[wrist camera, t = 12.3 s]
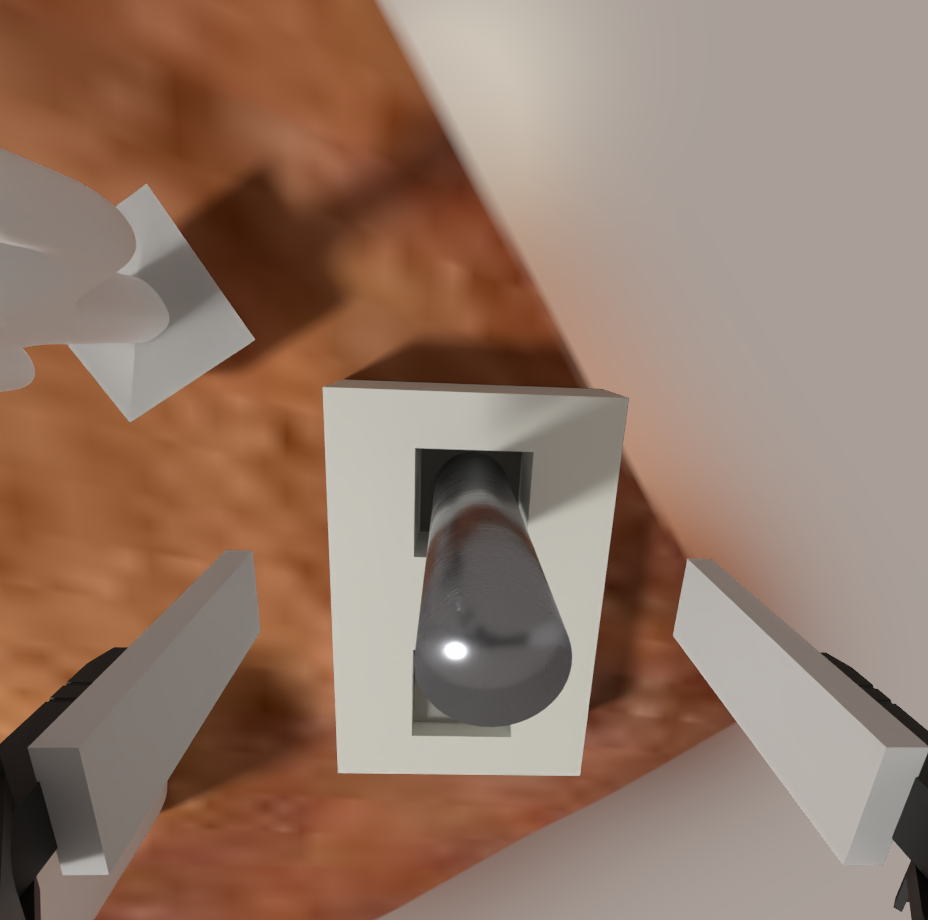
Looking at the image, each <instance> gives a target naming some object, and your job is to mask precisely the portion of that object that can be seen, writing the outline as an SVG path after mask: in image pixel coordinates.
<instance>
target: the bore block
mask: <svg viewBox="0 0 928 920" xmlns="http://www.w3.org/2000/svg"><path fill="white" fill-rule="evenodd" d="M628 401H629V398H627V397H624V396H621V395H618V394H615V393H612V392H609V391H606V390H603V389H587V388H560V387H533V386H506V385H479V384H452V383H425V382H398V381H371V380H344V379H343V380H341V381H338V382H335V383H332V384H330V385H327V386H324V387H323V408H324V434H325V459H326V484H327V509H328V535H329V560H330V585H331V610H332V635H333V661H334V686H335V711H336V736H337V761H338V773H381V774H468V775H554V776H580V771H581V763H582V755H583V748H584V740H585V732H586V724H587V717H588V709H589V701H590V694H591V686H592V678H593V671H594V663H595V655H596V647H597V640H598V632H599V624H600V617H601V609H602V601H603V594H604V586H605V578H606V570H607V563H608V555H609V547H610V540H611V532H612V524H613V517H614V509H615V501H616V493H617V486H618V478H619V470H620V463H621V455H622V447H623V440H624V431H625V424H626V416H627V408H628ZM467 452H476V453H482V454H485V455H487V456H489V457H491V458H493V459H494V460H495V461H496V462H498V463H499V465H500V466H501V467H502V469H503V470H504V472H505V474H506V477H507V479H508V482H509V485H510V487H511V490H512V492H513V495H514V497H515V500H516V503H517V505H518V508H519V510H520V513H521V515H522V518H523V521H524V523H525V526H526V528H527V531H528V534H529V536H530V539H531V541H532V544H533V546H534V549H535V552H536V554H537V557H538V559H539V562H540V565H541V567H542V570H543V572H544V575H545V577H546V580H547V583H548V585H549V588H550V590H551V593H552V595H553V598H554V601H555V603H556V606H557V608H558V611H559V614H560V616H561V619H562V621H563V624H564V626H565V629H566V632H567V634H568V637H569V640H570V644H571V649H572V665H571V671H570V674H569V677H568V680H567V682H566V684H565V686H564V688H563V690H562V691H561V693H560V694H559V695H558V697H557V698H556V699H555V700H554V701H553V702H552V703H551V704H550V705H549V706H548V707H547V708H545V709H544V710H543V711H541V712H540V713H538V714H537V715H535V716H533V717H531V718H529V719H527V720H524V721H522V722H519V723H515V724H512V725H507V726H500V727H481V726H474V725H469V724H466V723H462V722H459V721H457V720H455V719H452V718H450V717H449V716H447V715H445V714H443V713H442V712H441V711H439V710H438V709H437V708H436V707H435V706H434V705H433V704H432V703H431V702H430V701H429V700H428V699H427V698H426V696H425V695H424V693H423V692H422V690H421V688H420V686H419V684H418V681H417V678H416V674H415V668H414V656H415V647H416V639H417V630H418V622H419V614H420V605H421V597H422V589H423V580H424V572H425V564H426V556H427V547H428V539H429V531H430V522H431V514H432V506H433V497H434V489H435V481H436V477H437V475H438V472H439V471H440V469H441V467H442V466H443V465H444V464H445V463H446V462H447V461H448V460H449V459H451V458H452V457H454V456H456V455H459V454H462V453H467Z"/></svg>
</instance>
